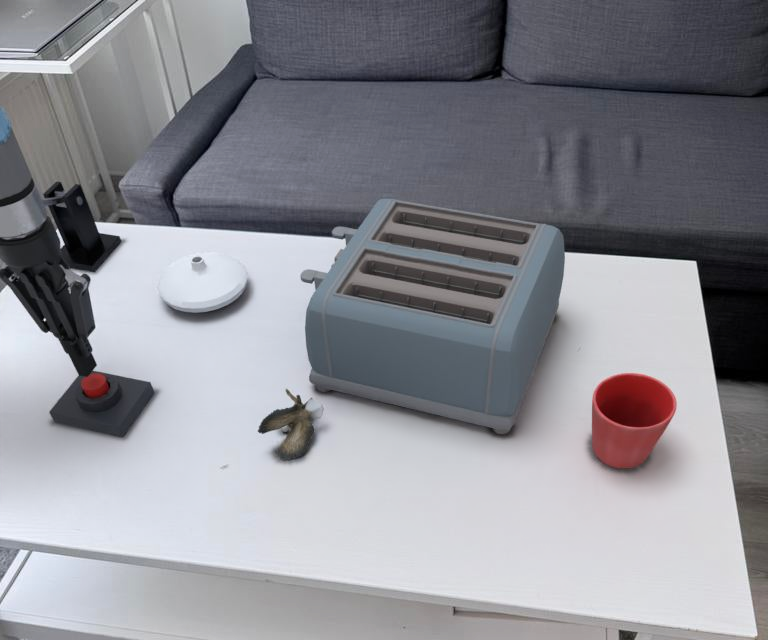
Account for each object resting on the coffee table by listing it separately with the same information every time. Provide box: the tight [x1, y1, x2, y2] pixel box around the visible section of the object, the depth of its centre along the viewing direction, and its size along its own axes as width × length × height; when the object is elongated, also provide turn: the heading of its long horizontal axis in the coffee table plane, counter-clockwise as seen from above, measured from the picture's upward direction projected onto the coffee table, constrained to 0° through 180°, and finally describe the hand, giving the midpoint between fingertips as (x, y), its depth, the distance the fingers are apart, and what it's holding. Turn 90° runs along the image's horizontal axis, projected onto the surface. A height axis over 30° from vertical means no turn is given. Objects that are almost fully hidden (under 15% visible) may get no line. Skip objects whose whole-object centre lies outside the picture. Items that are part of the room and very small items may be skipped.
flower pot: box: [591, 372, 677, 469], centre depth 102 cm, size 11×11×10 cm
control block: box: [48, 370, 155, 438], centre depth 114 cm, size 12×10×4 cm
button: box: [81, 374, 109, 398], centre depth 112 cm, size 4×4×2 cm
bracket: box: [42, 181, 122, 273], centre depth 137 cm, size 10×9×13 cm
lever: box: [41, 189, 69, 208], centre depth 129 cm, size 13×5×2 cm, turn 163°
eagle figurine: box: [257, 388, 325, 461], centre depth 108 cm, size 8×7×9 cm
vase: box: [156, 251, 248, 314], centre depth 130 cm, size 16×16×7 cm
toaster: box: [299, 198, 566, 435], centre depth 114 cm, size 31×36×17 cm
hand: (87, 370), depth 110 cm, fingers closed
